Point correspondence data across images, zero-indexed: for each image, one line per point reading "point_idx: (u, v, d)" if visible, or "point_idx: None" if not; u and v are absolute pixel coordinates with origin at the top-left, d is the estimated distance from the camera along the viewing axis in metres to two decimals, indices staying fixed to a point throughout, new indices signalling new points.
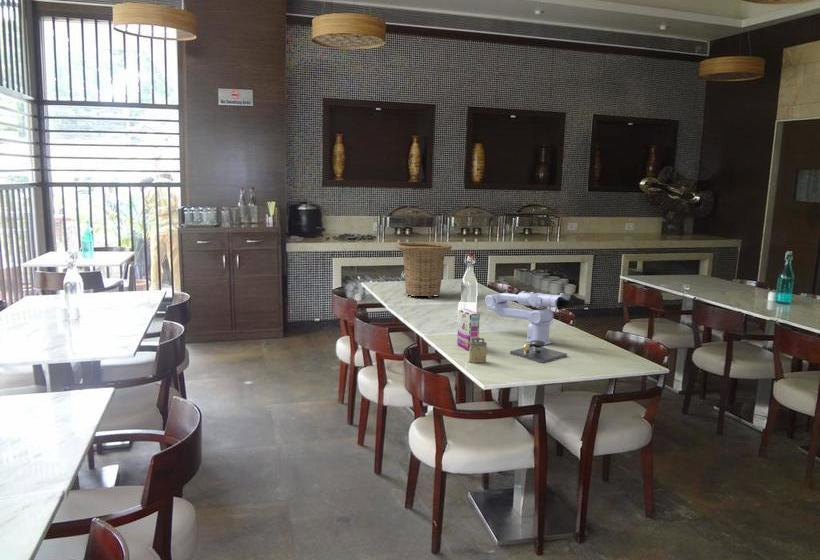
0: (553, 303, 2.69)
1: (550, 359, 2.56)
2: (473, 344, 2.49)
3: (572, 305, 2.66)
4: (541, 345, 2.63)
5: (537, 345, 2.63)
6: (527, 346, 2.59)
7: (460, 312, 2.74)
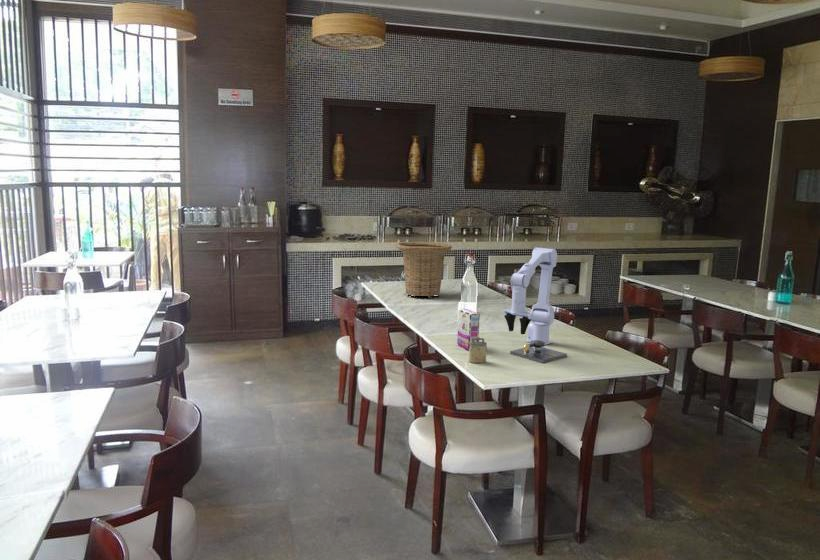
0: None
1: (550, 359, 2.56)
2: (473, 344, 2.49)
3: None
4: (541, 345, 2.63)
5: (537, 345, 2.63)
6: (527, 346, 2.59)
7: (460, 312, 2.74)
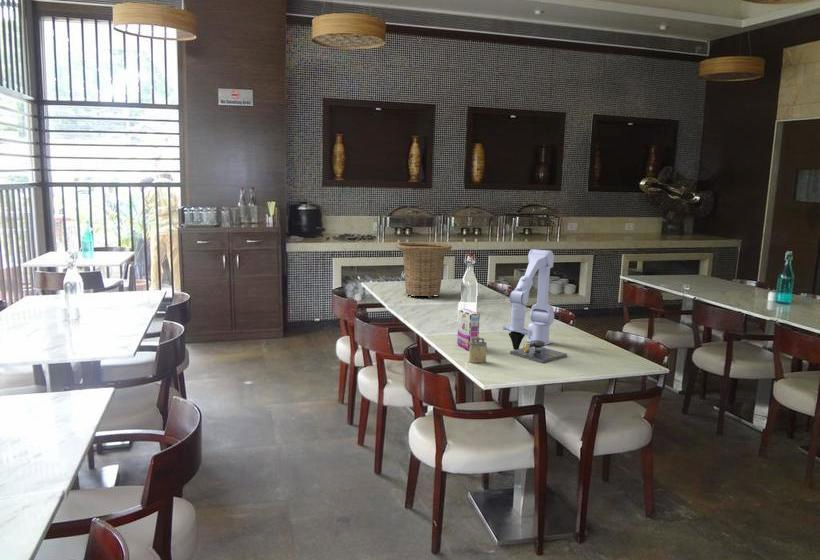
0: None
1: (550, 359, 2.56)
2: (473, 344, 2.49)
3: None
4: (541, 345, 2.63)
5: (537, 345, 2.63)
6: (527, 346, 2.59)
7: (460, 312, 2.74)
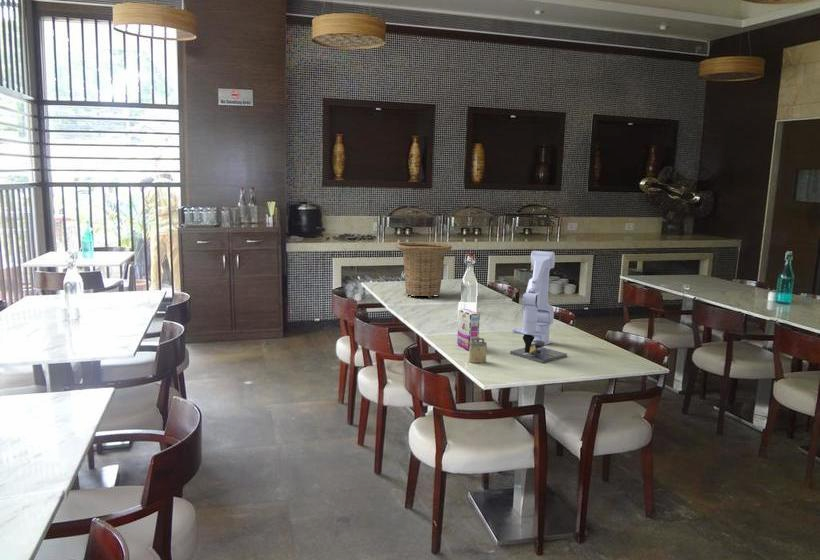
0: None
1: (550, 359, 2.56)
2: (473, 344, 2.49)
3: None
4: (543, 345, 2.63)
5: (539, 345, 2.62)
6: (533, 347, 2.58)
7: (460, 312, 2.74)
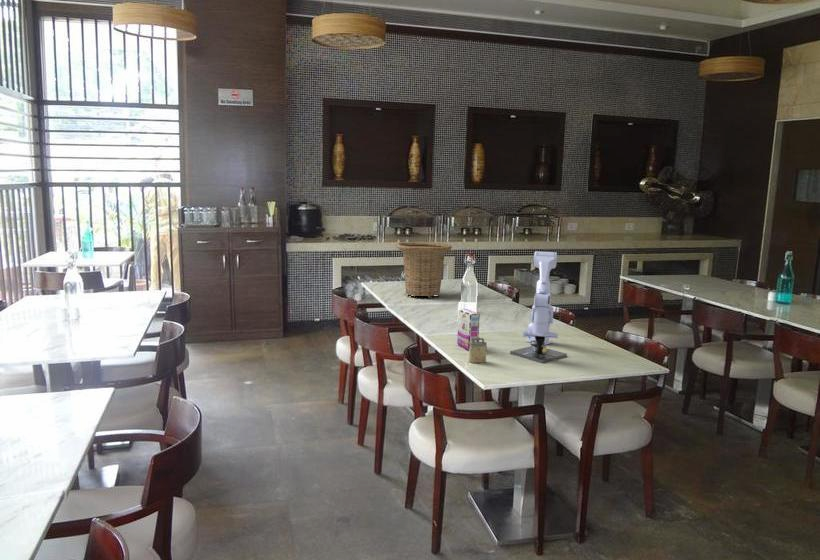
0: (522, 334, 2.58)
1: (550, 359, 2.56)
2: (473, 344, 2.49)
3: None
4: (544, 344, 2.65)
5: (543, 345, 2.63)
6: (546, 348, 2.58)
7: (460, 312, 2.74)
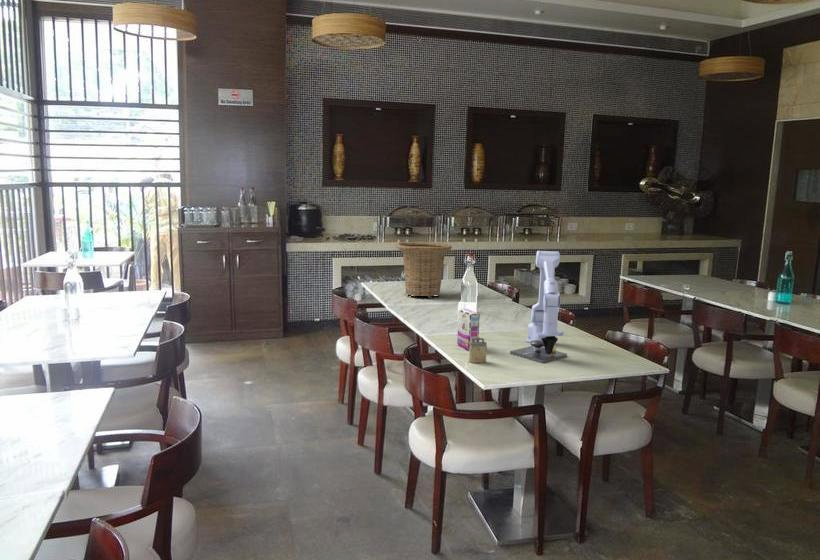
0: (536, 336, 2.54)
1: (550, 359, 2.56)
2: (473, 344, 2.49)
3: (546, 352, 2.59)
4: None
5: None
6: None
7: (460, 312, 2.74)
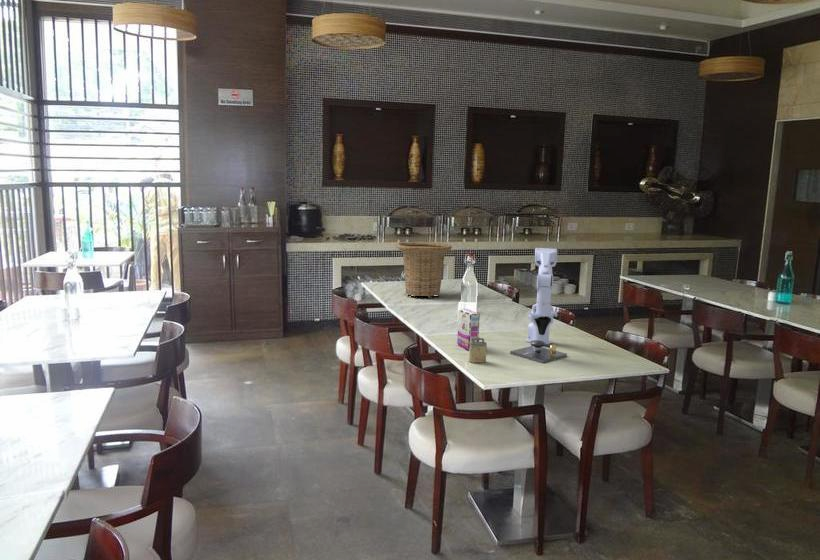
0: (529, 317, 2.55)
1: (550, 359, 2.56)
2: (473, 344, 2.49)
3: (539, 333, 2.60)
4: None
5: (544, 344, 2.65)
6: None
7: (460, 312, 2.74)
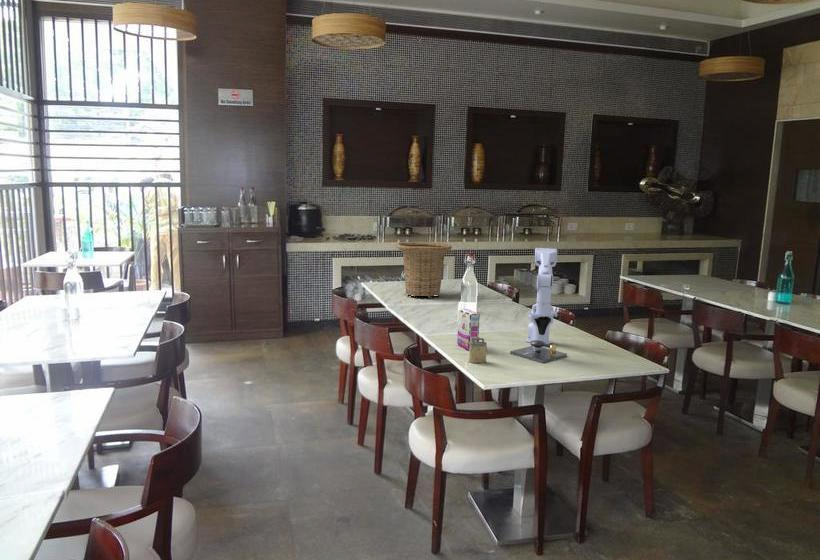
0: (529, 317, 2.55)
1: (550, 359, 2.56)
2: (473, 344, 2.49)
3: (539, 333, 2.60)
4: None
5: (544, 344, 2.65)
6: None
7: (460, 312, 2.74)
